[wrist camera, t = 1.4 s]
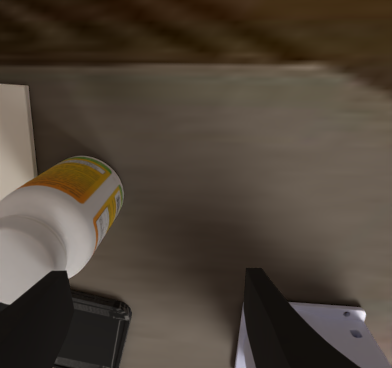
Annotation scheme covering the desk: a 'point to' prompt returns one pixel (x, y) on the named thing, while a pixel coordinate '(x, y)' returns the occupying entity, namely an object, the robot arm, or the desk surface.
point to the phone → (94, 333)
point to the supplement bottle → (55, 222)
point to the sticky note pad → (16, 139)
